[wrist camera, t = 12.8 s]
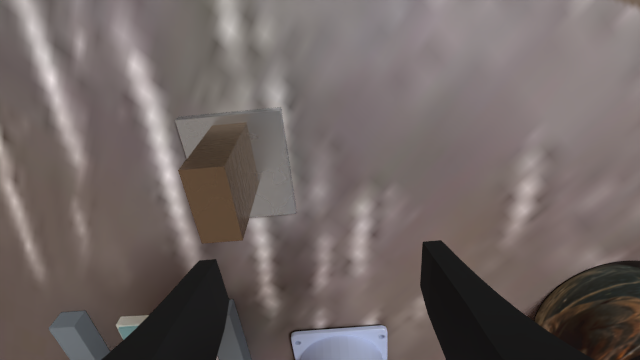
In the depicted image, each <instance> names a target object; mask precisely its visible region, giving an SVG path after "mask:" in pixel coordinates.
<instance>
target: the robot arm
mask: <svg viewBox="0 0 640 360" xmlns="http://www.w3.org/2000/svg"><path fill="white" fill-rule="evenodd" d="M420 286H421V290H422V294H423V298H424V301H425V305H426V309H427V312H428V315H429V318H430V320H431V323H432V325H433V328H434V330H435V333H436V335H437V338H438V340H439V343H440V345H441V348H442V350H443V353H444V355H445V358H446V360H594V359H592V358H591V357H589V356H587V355H585V354H584V353H582V352H580V351H579V350H577V349H576V348H574V347H572V346H571V345H569V344H568V343H566V342H564V341H563V340H561V339H559V338H558V337H556V336H555V335H553V334H552V333H550V332H549V331H547V330H546V329H544V328H543V327H541V326H540V325H539V324H537V323H536V322H534V321H533V320H531V319H530V318H529V317H527V316H526V315H524V314H523V313H522V312H520V311H519V310H518V309H516V308H515V307H514V306H513V305H511V304H510V303H509V302H508V301H506V300H505V299H504V298H503V297H502V296H500V295H499V294H498V293H497V292H496V291H494V290H493V289H492V288H491V287H490V286H489V285H487V284H486V283H485V282H484V281H483V280H482V279H481V278H480V277H479V276H477V275H476V274H475V273H474V272H473V271H472V270H471V269H470V268H469V267H468V266H467V265H466V264H465V263H464V262H463V261H461V260H460V259H459V258H458V257H457V256H456V255H455V254H454V253H453V252H452V251H451V250H450V249H449V248H448V247H447V246H446V245H445V244H444V243H443V242H442V241H441V240H440V241H428V242H423V247H422V265H421V282H420ZM228 306H229V298H228V295H227V292H226V289H225V286H224V283H223V279H222V276H221V273H220V270H219V267H218V264H217V261H216V259H214V260H202V261H198V263H197V264H196V265H195V266H194V267H193V268H192V269H191V270H190V271H189V272H188V274H187V275H186V276H185V277H184V278H183V279H182V280H181V281H180V283H179V284H178V285H177V286H176V287H175V288H174V289H173V290H172V291H171V293H170V294H169V295H168V296H167V297H166V298H165V299H164V300H163V301H162V302H161V303H160V304H159V306H158V307H157V308H156V309H155V310H154V311H153V312H152V313H151V314H150V315H149V316H148V317H147V318H146V319H145V320H144V321H143V322H142V323H141V324H140V325H139V326H138V327H137V328H136V329H135V330H134V331H133V332H132V333H131V334H130V335H129V336H127V337H126V338H125V339H124V340H123V341H122V342H121V343H120V344H119V345H118V346H116V347H115V348H114V349H113V350H112V351H111V352H110V353H108V354H107V355H106V356H105V357H104V358H103V359H101V360H216V358H217V354H218V351H219V347H220V344H221V340H222V337H223V333H224V330H225V324H226V319H227V312H228ZM291 342H292V346H293V351H294V356H295V360H387V328H386V327H385V326H383V325H377V326H364V327H350V328H336V329H323V330H309V331H296V332H293V333H292V334H291Z"/></svg>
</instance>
